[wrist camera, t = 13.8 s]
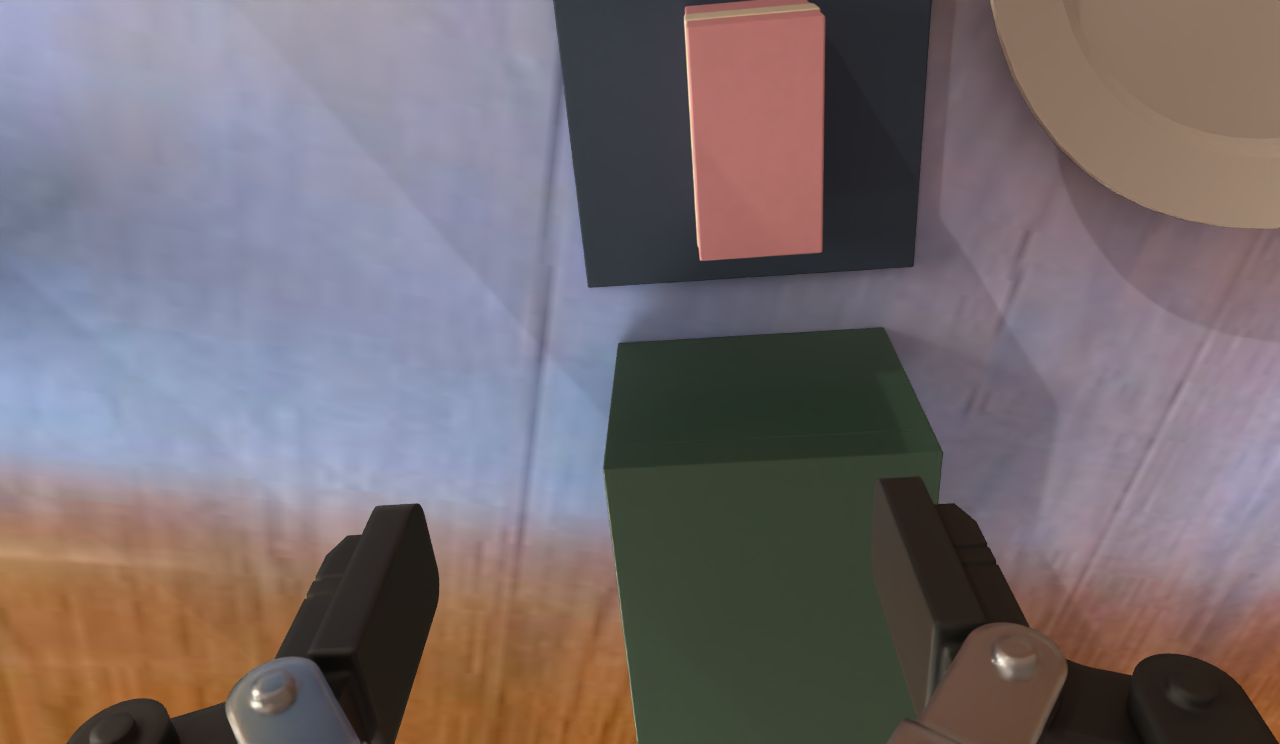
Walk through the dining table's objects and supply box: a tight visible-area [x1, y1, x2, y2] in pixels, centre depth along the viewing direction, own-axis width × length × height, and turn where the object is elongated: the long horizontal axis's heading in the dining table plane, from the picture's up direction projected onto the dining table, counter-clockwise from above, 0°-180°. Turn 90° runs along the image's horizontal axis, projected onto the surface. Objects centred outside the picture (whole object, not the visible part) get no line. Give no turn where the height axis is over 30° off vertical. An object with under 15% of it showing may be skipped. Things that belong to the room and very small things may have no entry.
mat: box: [553, 0, 932, 288], centre depth 35 cm, size 14×14×1 cm
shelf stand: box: [603, 328, 943, 744], centre depth 40 cm, size 12×16×10 cm
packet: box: [684, 0, 825, 261], centre depth 33 cm, size 4×8×6 cm, turn 5°
